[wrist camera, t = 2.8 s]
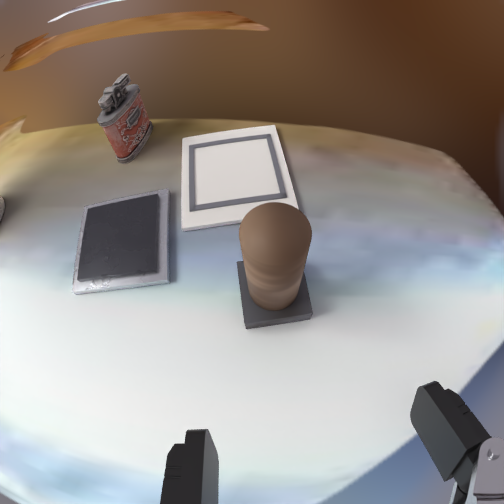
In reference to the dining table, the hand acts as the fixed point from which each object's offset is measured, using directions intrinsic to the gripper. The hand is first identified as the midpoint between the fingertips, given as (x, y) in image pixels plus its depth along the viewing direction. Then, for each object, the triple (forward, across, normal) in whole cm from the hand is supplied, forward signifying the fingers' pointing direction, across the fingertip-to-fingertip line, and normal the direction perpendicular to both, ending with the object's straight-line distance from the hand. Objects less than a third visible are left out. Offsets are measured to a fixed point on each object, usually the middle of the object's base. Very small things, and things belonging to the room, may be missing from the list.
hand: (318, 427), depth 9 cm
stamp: (+18, 0, +3) cm, 18 cm away
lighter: (+35, +15, -14) cm, 40 cm away
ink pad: (+23, +15, -3) cm, 28 cm away
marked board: (+28, +2, -8) cm, 29 cm away
